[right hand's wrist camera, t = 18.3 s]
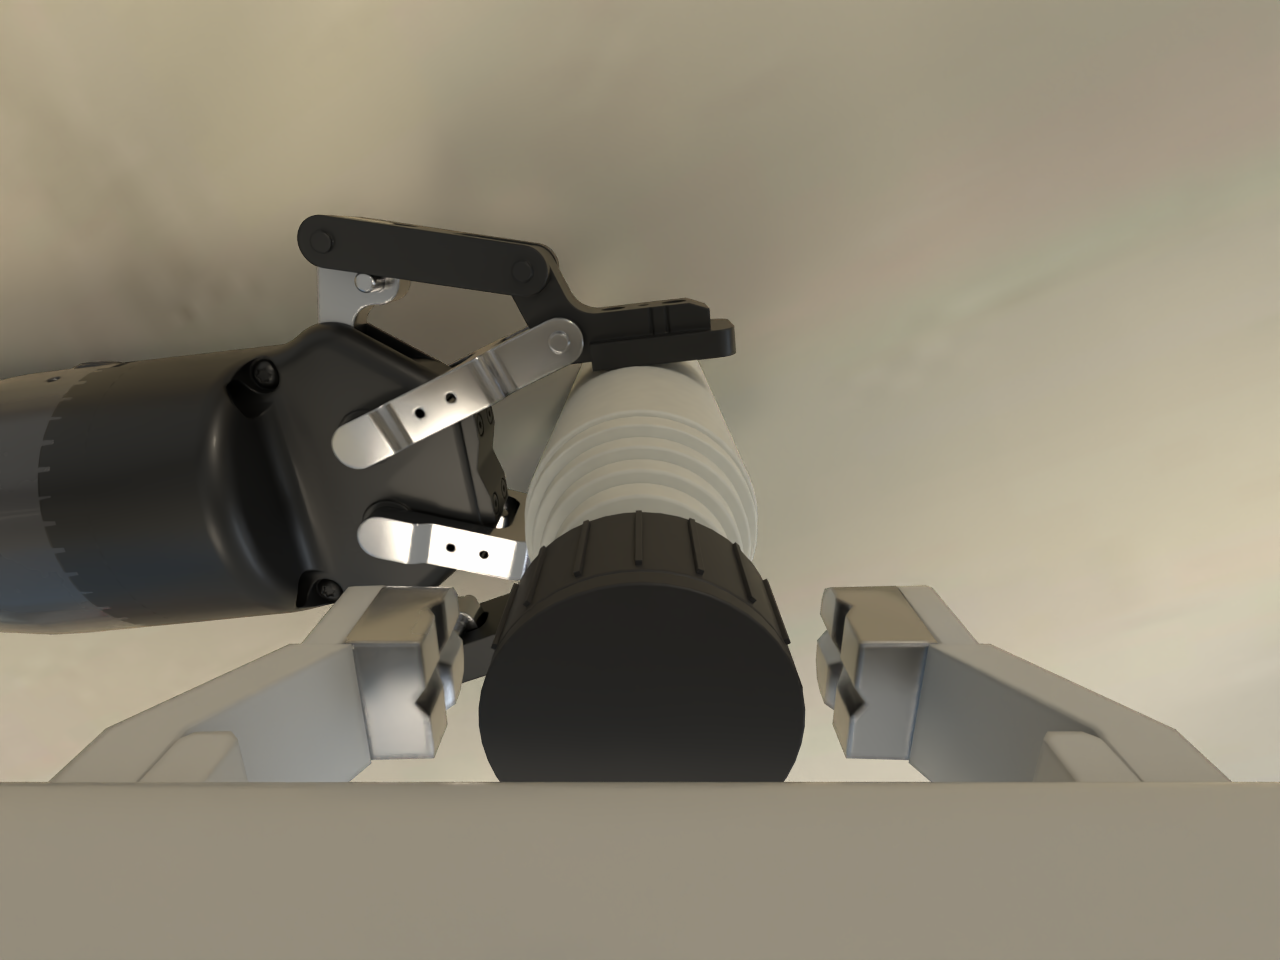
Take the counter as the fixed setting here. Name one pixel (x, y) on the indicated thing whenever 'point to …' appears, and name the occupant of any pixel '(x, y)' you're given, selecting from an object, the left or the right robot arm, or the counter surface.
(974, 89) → the counter surface
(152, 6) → the counter surface
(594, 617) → the cap
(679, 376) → the bottle
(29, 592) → the left robot arm
